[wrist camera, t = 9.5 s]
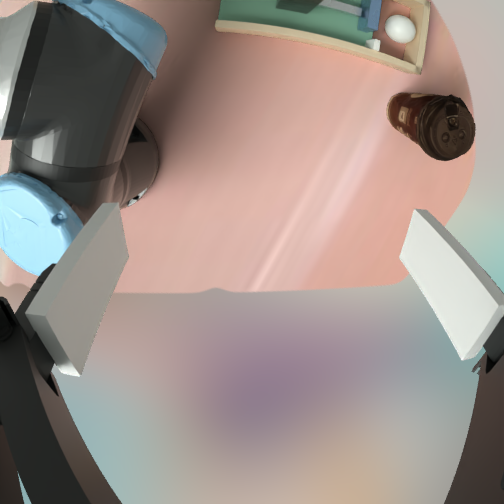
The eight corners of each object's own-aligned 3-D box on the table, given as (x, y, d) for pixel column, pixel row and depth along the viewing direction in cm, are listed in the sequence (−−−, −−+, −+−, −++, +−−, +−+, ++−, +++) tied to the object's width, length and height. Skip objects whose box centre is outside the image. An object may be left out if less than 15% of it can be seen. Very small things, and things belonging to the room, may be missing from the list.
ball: (410, 41, 27) (416, 50, 30) (414, 14, 25) (419, 24, 28) (378, 34, 29) (387, 43, 32) (382, 7, 27) (391, 18, 30)
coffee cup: (393, 73, 34) (445, 80, 23) (434, 101, 36) (488, 119, 25) (371, 123, 38) (416, 146, 28) (413, 147, 40) (461, 177, 29)
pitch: (217, 31, 31) (214, 26, 27) (229, -42, 25) (228, -54, 21) (406, 73, 34) (422, 74, 30) (416, 5, 27) (432, 2, 23)
